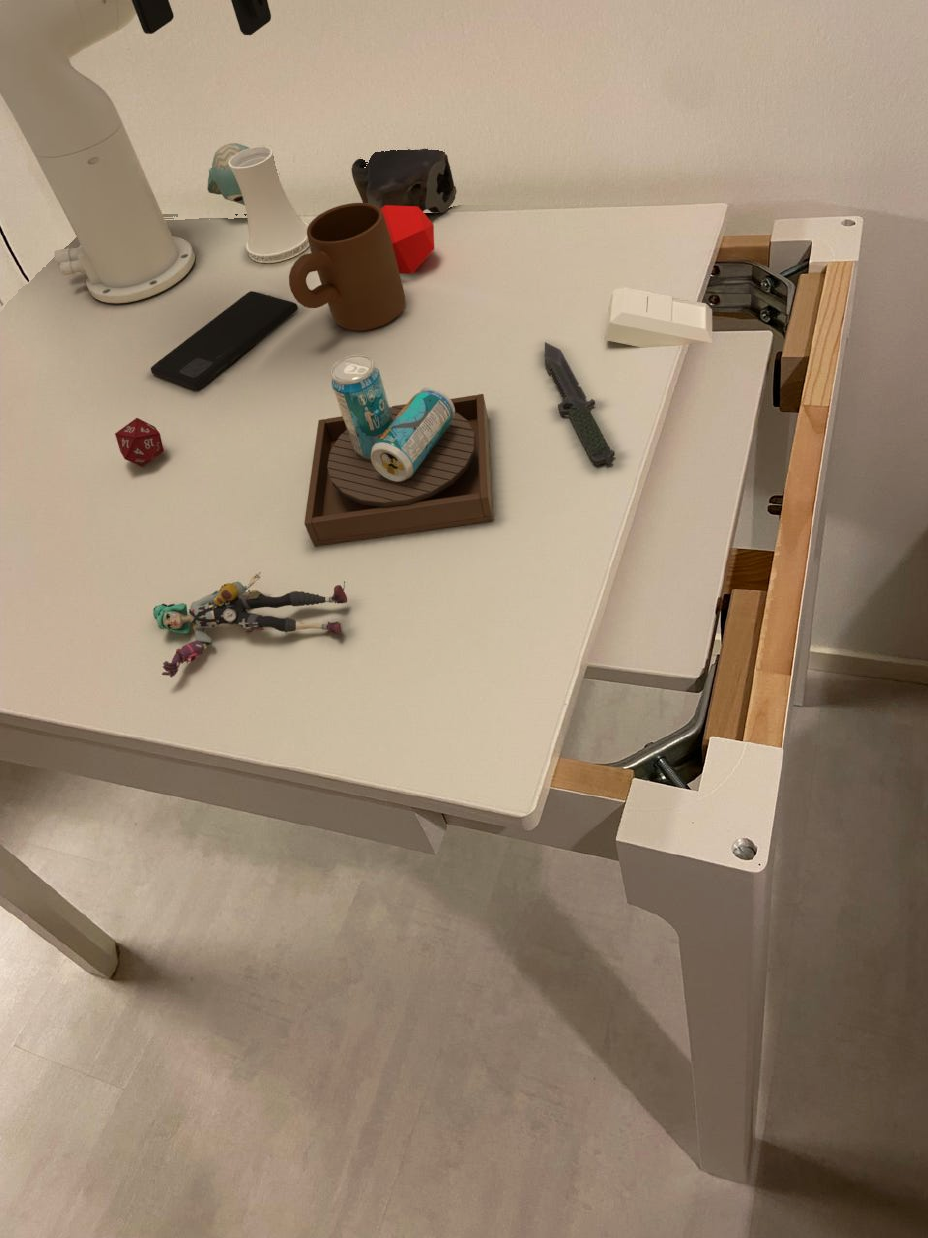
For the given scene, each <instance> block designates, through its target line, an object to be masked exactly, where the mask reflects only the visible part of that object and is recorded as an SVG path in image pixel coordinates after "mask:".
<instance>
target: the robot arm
mask: <svg viewBox="0 0 928 1238" xmlns="http://www.w3.org/2000/svg"><path fill="white" fill-rule="evenodd" d="M230 2H231V4H232V5H231V6H232V8H233V11H234V14H235V18H236V22H237V24H238V27H239V30H240V33H242V35H243V36H253V35H254V34H255V33H256V32H258V31H259V30H260V29H262V28H263V27H264V26H266V25H267V24H268V23H270V21H271V20H272V14H271V9H270V6H269V2H268V0H230ZM136 16H137V18H138V21H139V24H140V26H141V29H142V31H143V33H144V34H146V35H153V34H155V33H157V31H159V30H160V29H162V28H163V27H165V26H166V25H168V24H169V23H171V22H172V21H173V20H174V17H175V15H174V12H173V8H172V6H171V3H170V1H169V0H0V95H1V97H2V99H3V101H4V103H5V104H6V106H7V107H8V109H9V110H10V112H11V114H12V116H13V118H14V120H15V121H16V123H17V125H18V127H19V129H20V131H21V133H22V135H23V137H24V138H25V140H26V142H27V145H28V146H29V148H30V150H31V151H32V153H33V155H34V157H35V159H36V161H37V163H38V165H39V167H40V169H41V171H42V172H43V175H44V176H45V179H46V180H47V183H48V184H49V186H50V189H51V190H52V192H53V194H54V196H55V197H56V200H57V201H58V204H59V205H60V207H61V209H62V211H63V213H64V215H65V217H66V219H67V221H68V223H69V225H70V226H71V228H72V230H73V232H74V234H75V236H76V239H77V240H78V242H79V245H78V247H73V248H71V247H68V248H63V249H58V250H55V251H54V261H55V263H56V265H57V266H58V267H59V270H60V273H62V275H63V276H70V275H73V274H74V275H75V274H76V273H83V274H86V280H85V284H86V288H87V289H88V291H89V293H90V296H92V297H93V298H94V299H95V300H98V301H100V302H103V303H108V304H126V303H132V302H137V301H141V300H144V299H147V298H148V299H149V298H151V297H153V296H156V295H158V294H160V293H162V292H164V291H167V290H168V289H169V288H171V287H173V286H174V285H176V284H177V283H179V282H180V281H181V280H183V278H185V277H186V275H187V274H189V272H190V270H192V268H193V266H194V263H195V261H196V255H195V252H194V249H193V246H192V245H191V244H190V242H189V241H187V240H186V239H183V238H181V237H179V236H172V233H171V230H170V228H169V226H168V224H167V222H166V219H165V217H164V214H163V213H162V209H161V208H160V206H159V203H158V201H157V199H156V196H155V194H154V192H153V189H152V187H151V185H150V182H149V180H148V178H147V176H146V174H145V170H144V169H143V167H142V164H141V162H140V160H139V157H138V156H137V152H136V151H135V148H134V146H133V143H132V141H131V139H130V137H129V134H128V132H127V130H126V128H125V125H124V123H123V120H122V118H121V116H120V114H119V112H118V109H117V108H116V106H115V104H114V102H113V99H111V97H110V96H109V94H108V93H107V92H106V91H105V90H104V89H103V88H102V87H101V86H100V85H99V84H97V83H96V82H95V81H93V80H92V79H91V78H89V77H88V76H86V75H84V74H82V73H81V72H80V71H79V70H77V69H76V68H75V67H74V65H72V63H71V59H72V58H73V57H74V56H76V55H77V54H79V53H81V52H82V51H83V50H85V49H87V48H89V47H91V46H93V45H95V44H97V43H99V42H101V41H102V40H105V39H106V38H109V37H110V36H112V35H114V34H116V33H117V32H120V30H122V29H124V28H125V27H127V26H128V25H129V24H130V23H131V22H132V21H133V20H134V19H135V17H136Z"/></svg>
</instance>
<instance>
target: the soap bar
mask: <svg viewBox="0 0 928 1238" xmlns="http://www.w3.org/2000/svg"><path fill="white" fill-rule="evenodd" d="M610 296H611V297H610V299H609V300H610V301H609V303H608V307H607V316H606V325H605V335H604V341H608V342H612V343H618V344H621V345H622V344H623V345H628V346H633V347H638V348H650V347H651V348H652V347H668V346H684V345H700V344H701V345H702V344H712V343H713V309H712V308H711V307H710V306H709V305H708V304H707V303H705V302H700V301H695V300H691V299H686V298H681V297H676V296H671V295H666V294H661V293H656V292H651V291H645V290H640V289H637V288H630V287H625V286H624V287H619V288H616V289H613V290H612V293H611V295H610Z"/></svg>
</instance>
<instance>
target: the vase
mask: <svg viewBox="0 0 928 1238" xmlns="http://www.w3.org/2000/svg"><path fill="white" fill-rule="evenodd" d="M228 164H229V166H230V168H231V170H232V172H233V174H234V176H235V178H236V180H237V183H238V185H239V188H240V190H241V193H242V196H243V200H244V203H245V205H244V207H245V212H246V218H247V227H248V239H247V240H246V244H245V247H246V250H247V252H248V255H249V257H250V259H251V260H253V261H254V262H257V263H261V264H273V263H279V262H283V261H287V260H289V259H292V258H294V257H297V256H298V255H300V254H302V253H303V252H304V251H306V250H307V249H308V248H310V245H309V241H308V237H307V228H308V226H309V223H308V222H305V221H304V220H303V219H302V218H301V217H300V215H299V214H298V212H297V211H296V210H295V208H294V207H293V205H292V203H291V201H290V199H289V198H288V196H287V194H286V192H285V189H284V187H283V184H282V182H281V180H280V178H279V176H278V173H277V169H276V166H275V161H274V156H273V151H272V149H271V148H269V147H265V146H264V145H260V146H253V147H249V149H246V150H243V151H241V152H239V153H237V154H235V155H234V156H233V157H231V159H230V160H229V162H228Z"/></svg>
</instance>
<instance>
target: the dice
mask: <svg viewBox="0 0 928 1238" xmlns="http://www.w3.org/2000/svg"><path fill="white" fill-rule="evenodd" d="M114 436H115V437H116V438H115V439H116V442H117V445H118V449H119V452H120V454H121V455H122V457H123V459H124V461H125V460H126V461H128V462H130V463H131V464H134V465H136V466H139V467H141V468H144V467H146V466H147V465H148V464H150V463H151V462H152V461H153V460H155V459H156V458H157V457H159V456H160V455H161V454H163V453H164V452H165V449H164V445H163V440H162V437H161V433H160V431H159V429H157V427H156V426H154V425H152V424H151V423H148V422H146V421H145V420H143V419H140V418H138V417H135V418H134V419H133V420H132V421H130V422H129V423H127V424H126V425H125V426H123V427H122V428H121V429H119V430H118V431H117V432H114Z"/></svg>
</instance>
